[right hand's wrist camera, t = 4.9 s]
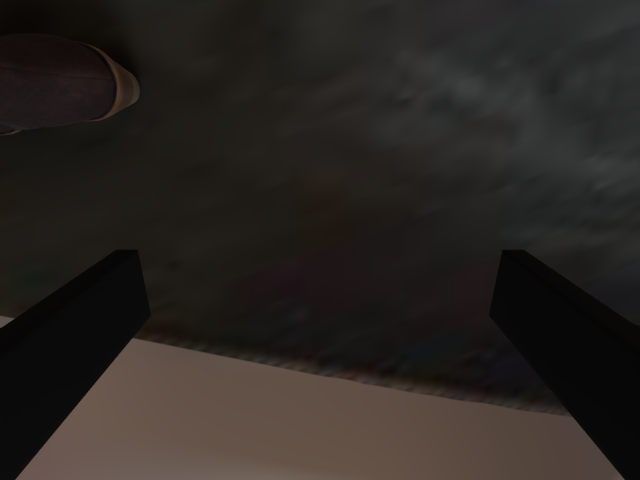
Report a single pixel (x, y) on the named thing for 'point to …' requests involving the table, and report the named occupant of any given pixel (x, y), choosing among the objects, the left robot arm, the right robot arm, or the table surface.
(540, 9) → the table surface
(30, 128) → the boot
